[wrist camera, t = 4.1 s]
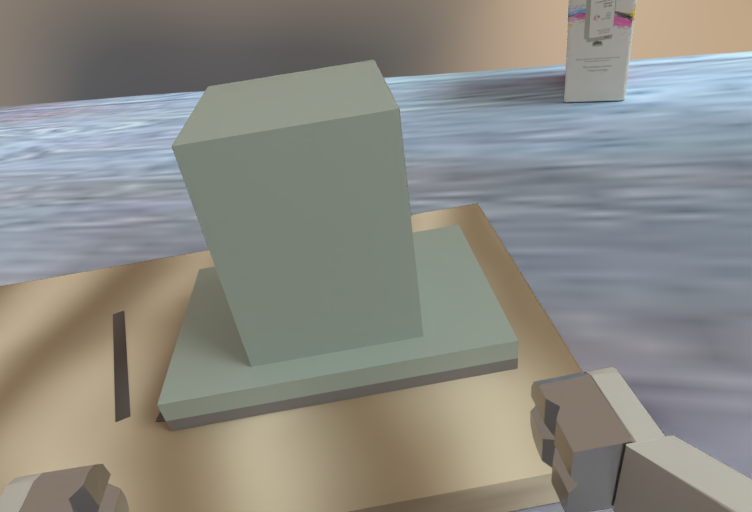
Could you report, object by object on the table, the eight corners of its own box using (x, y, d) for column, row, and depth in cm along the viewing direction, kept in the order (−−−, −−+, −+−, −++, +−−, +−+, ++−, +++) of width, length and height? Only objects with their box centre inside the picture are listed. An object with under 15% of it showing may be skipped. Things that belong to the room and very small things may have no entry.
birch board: (478, 227, 29) (477, 203, 28) (629, 488, 15) (636, 456, 15) (8, 309, 28) (-7, 287, 27) (-261, 657, 15) (-306, 633, 14)
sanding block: (459, 248, 25) (449, 41, 20) (517, 368, 18) (524, 100, 13) (207, 291, 24) (131, 92, 19) (170, 431, 18) (39, 181, 13)
